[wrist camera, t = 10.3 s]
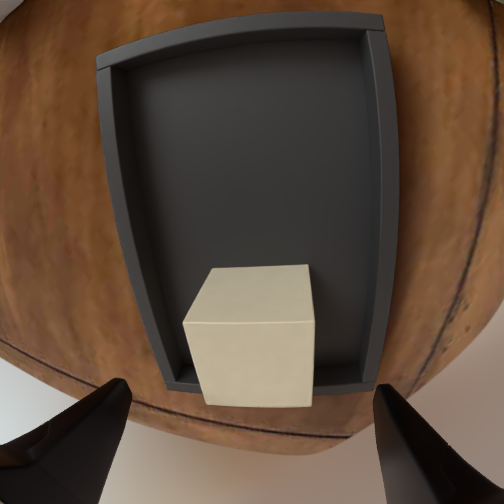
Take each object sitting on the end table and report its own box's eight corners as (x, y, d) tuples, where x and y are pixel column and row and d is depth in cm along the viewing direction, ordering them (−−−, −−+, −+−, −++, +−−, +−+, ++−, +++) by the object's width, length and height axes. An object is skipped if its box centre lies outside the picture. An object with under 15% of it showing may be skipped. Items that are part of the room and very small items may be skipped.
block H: (308, 341, 15) (311, 407, 11) (225, 342, 15) (206, 404, 11) (308, 263, 13) (315, 320, 9) (212, 267, 14) (181, 322, 10)
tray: (367, 367, 16) (373, 391, 14) (177, 368, 17) (167, 390, 16) (370, 29, 9) (382, 14, 7) (118, 62, 11) (95, 55, 9)
